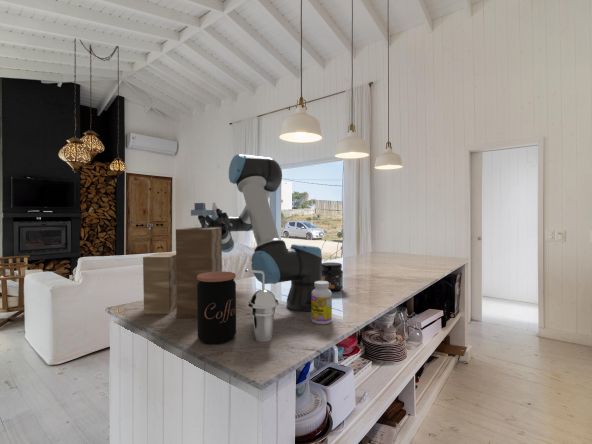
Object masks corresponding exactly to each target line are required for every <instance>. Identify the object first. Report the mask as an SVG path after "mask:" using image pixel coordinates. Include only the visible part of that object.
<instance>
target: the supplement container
mask: <svg viewBox="0 0 592 444" xmlns="http://www.w3.org/2000/svg"><path fill="white" fill-rule="evenodd" d="M342 269H343V264H342V263H341V262H334V261H333V262H331V261H330V262H327V261H326V262H322V281H327V282H329V287H328V289H329V290H330V291H331V292H332V293H337V292H338V293H339V292H341V291H342V290H343V288H344V286H343V285H344V284H343V282H344V281H343V279H344V278H343V274H344V271H343V270H342Z"/></svg>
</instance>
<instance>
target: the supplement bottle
mask: <svg viewBox="0 0 592 444" xmlns="http://www.w3.org/2000/svg"><path fill="white" fill-rule="evenodd" d="M314 286H315V289H314V290H313V291H312V293H311V311H310V312H311V322H312V323H314V324H318V325H326V324H330V323H331V322H332V319H333V316H332V313H333V310H332V309H333V307H332V305H333V302H332V300H333V292H331V291H330V290H329V289H328V287H329V282H327V281H316V282H315V283H314Z"/></svg>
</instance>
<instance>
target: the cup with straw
mask: <svg viewBox="0 0 592 444" xmlns="http://www.w3.org/2000/svg"><path fill="white" fill-rule="evenodd" d="M244 271H245V273H251V274H252V273H253V274H254V273H261V274H262V283H261V289H258V290H257V291H255V292H254V293H253V294H252V296H251V299H250V300H248V304H247V305H248V307H249V308H250V311H251V315H252V322H253V330H254V335H255V340H256V341H257V342H261V343H262V342H263V343H264V342H265V343H266V342H269V341H271V340H272V335H273V328H274V320H275V319H274V318H275V313H276V310H277V306H279V300H278V299H276V297H275V294H274V293H273V292H272V291H271V290H269V289H265V286H266V284H265V275H264V272H263V271H258V270H252V269H245V270H244Z"/></svg>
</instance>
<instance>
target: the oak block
mask: <svg viewBox="0 0 592 444" xmlns="http://www.w3.org/2000/svg"><path fill="white" fill-rule="evenodd" d="M142 269H143V271H142V272H143V273H142V275H143V277H142V278H143V281H142V283H143V284H142V285H143V288H142V289H143V314H145V315H146V314H147V315H148V314H150V315H153V314H154V315H155V314H157V315H159V314H161V315H162V314H163V315H164V314H165V315H166V314H167V315H170V314H171V313H172V312H174V311H175V310H177V287H176V252H157V253H154V254H149V255H146V256H143V257H142Z"/></svg>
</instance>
